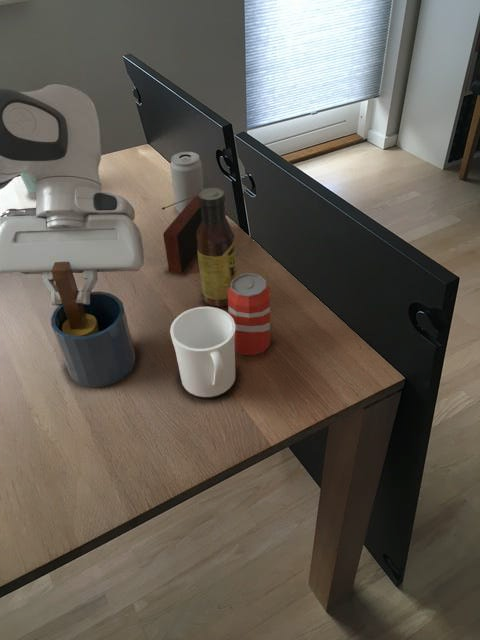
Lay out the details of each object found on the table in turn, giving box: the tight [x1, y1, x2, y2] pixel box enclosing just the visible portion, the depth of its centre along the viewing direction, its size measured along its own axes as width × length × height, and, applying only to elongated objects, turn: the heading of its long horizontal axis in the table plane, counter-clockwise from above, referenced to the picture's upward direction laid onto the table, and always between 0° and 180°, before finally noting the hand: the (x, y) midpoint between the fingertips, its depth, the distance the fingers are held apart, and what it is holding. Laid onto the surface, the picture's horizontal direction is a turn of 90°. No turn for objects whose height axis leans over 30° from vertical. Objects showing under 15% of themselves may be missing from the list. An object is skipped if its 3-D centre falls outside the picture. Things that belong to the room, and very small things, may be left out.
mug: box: [169, 306, 236, 400], centre depth 76 cm, size 11×9×10 cm
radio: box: [161, 190, 202, 275], centre depth 99 cm, size 19×3×15 cm, turn 159°
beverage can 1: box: [169, 151, 205, 214], centre depth 112 cm, size 6×6×12 cm
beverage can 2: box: [227, 272, 271, 356], centre depth 81 cm, size 6×6×12 cm
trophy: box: [51, 262, 100, 336], centre depth 76 cm, size 5×5×14 cm
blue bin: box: [50, 291, 136, 388], centre depth 80 cm, size 10×10×10 cm
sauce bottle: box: [196, 187, 238, 308], centre depth 87 cm, size 7×6×20 cm
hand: (71, 304), depth 75 cm, fingers closed on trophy
